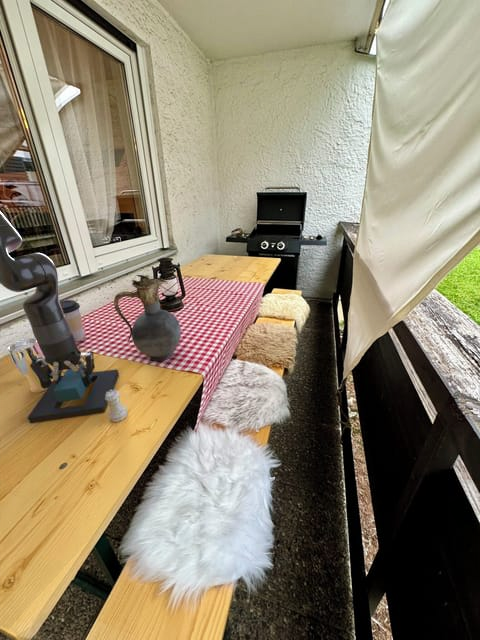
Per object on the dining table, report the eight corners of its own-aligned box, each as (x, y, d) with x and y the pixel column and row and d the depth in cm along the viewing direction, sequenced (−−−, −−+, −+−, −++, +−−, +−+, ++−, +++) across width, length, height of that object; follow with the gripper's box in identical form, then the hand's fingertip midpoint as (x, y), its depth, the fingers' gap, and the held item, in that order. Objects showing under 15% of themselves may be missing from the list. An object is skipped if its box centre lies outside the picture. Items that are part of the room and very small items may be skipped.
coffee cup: (87, 330, 109) (75, 297, 102) (92, 338, 102) (80, 304, 95) (61, 337, 104) (47, 303, 97) (65, 347, 97) (50, 311, 90)
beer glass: (61, 382, 80) (42, 341, 73) (36, 397, 74) (13, 354, 67) (49, 375, 83) (30, 335, 76) (24, 388, 77) (2, 347, 70)
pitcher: (183, 362, 87) (169, 277, 73) (124, 367, 85) (99, 281, 72) (185, 344, 97) (173, 266, 83) (132, 349, 95) (112, 270, 81)
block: (58, 402, 68) (53, 390, 66) (73, 377, 77) (68, 367, 75) (80, 399, 69) (76, 387, 67) (92, 375, 78) (88, 364, 76)
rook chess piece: (108, 424, 65) (99, 401, 61) (110, 411, 69) (102, 388, 65) (127, 420, 66) (119, 397, 62) (128, 407, 70) (121, 385, 66)
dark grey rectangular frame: (30, 423, 66) (27, 417, 65) (57, 381, 80) (55, 376, 79) (104, 412, 69) (102, 407, 68) (118, 374, 83) (117, 369, 82)
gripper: (90, 325, 69) (106, 374, 77) (31, 331, 67) (54, 381, 75) (79, 339, 63) (99, 392, 71) (14, 347, 61) (41, 400, 68)
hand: (76, 386), depth 73 cm, fingers closed on block, 5 cm apart
